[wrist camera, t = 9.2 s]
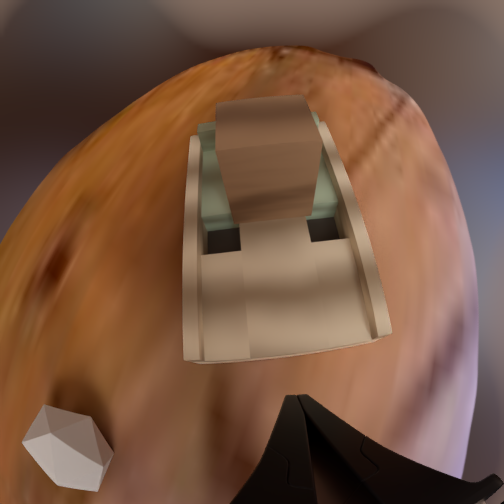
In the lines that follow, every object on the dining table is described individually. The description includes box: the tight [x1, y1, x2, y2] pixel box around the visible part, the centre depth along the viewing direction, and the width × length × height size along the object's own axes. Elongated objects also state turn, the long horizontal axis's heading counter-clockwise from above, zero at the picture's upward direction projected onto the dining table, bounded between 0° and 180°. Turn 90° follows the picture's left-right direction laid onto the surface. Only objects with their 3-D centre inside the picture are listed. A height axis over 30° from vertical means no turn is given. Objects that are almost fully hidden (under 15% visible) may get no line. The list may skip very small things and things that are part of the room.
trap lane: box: [182, 112, 392, 364], centre depth 25 cm, size 24×15×6 cm, turn 5°
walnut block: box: [215, 95, 323, 224], centre depth 22 cm, size 6×7×9 cm
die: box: [22, 405, 114, 492], centre depth 15 cm, size 8×9×10 cm
